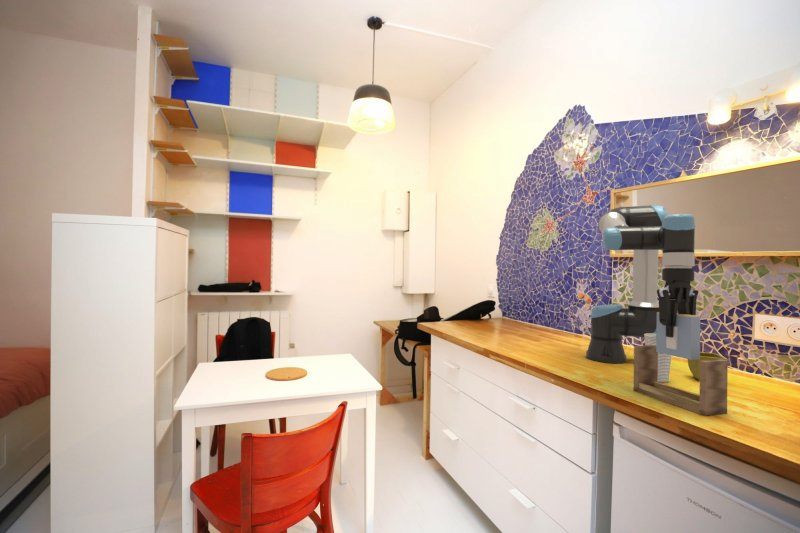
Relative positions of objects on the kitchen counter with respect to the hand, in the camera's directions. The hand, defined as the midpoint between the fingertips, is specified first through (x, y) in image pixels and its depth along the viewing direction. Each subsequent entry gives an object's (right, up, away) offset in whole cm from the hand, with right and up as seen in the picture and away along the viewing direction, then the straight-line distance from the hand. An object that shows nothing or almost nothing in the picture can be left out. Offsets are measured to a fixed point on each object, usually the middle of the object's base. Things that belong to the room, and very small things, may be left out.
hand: (677, 348), depth 108 cm
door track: (0, -15, 0) cm, 15 cm away
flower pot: (+27, -16, +22) cm, 38 cm away
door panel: (0, -2, 0) cm, 2 cm away
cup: (+9, -16, +21) cm, 28 cm away
